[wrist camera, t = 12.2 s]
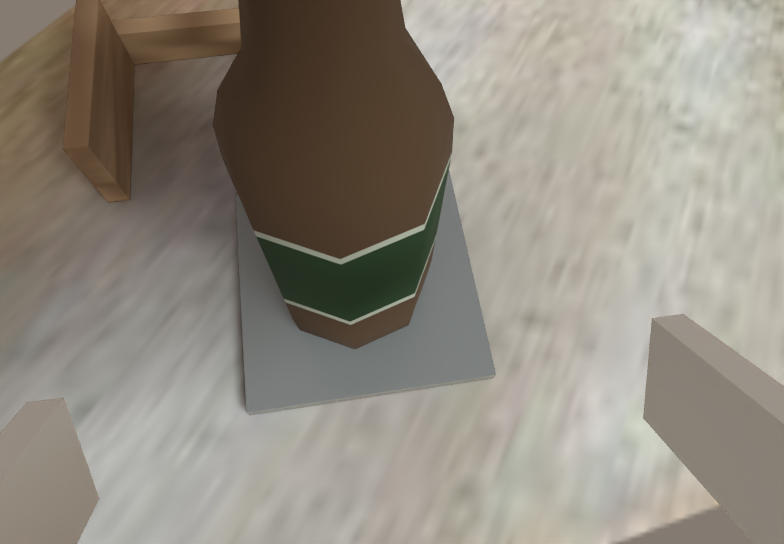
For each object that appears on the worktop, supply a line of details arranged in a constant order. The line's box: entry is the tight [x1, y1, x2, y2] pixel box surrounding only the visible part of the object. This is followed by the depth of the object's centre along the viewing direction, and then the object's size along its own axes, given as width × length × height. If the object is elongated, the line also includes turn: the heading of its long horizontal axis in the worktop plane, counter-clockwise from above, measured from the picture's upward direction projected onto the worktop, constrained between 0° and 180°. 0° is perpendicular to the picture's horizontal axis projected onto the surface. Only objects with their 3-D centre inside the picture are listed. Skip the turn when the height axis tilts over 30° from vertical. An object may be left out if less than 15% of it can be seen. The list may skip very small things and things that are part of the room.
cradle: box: [63, 0, 241, 202], centre depth 32 cm, size 12×11×5 cm
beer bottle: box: [213, 0, 454, 349], centre depth 19 cm, size 8×8×24 cm
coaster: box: [235, 171, 496, 415], centre depth 30 cm, size 12×12×1 cm
